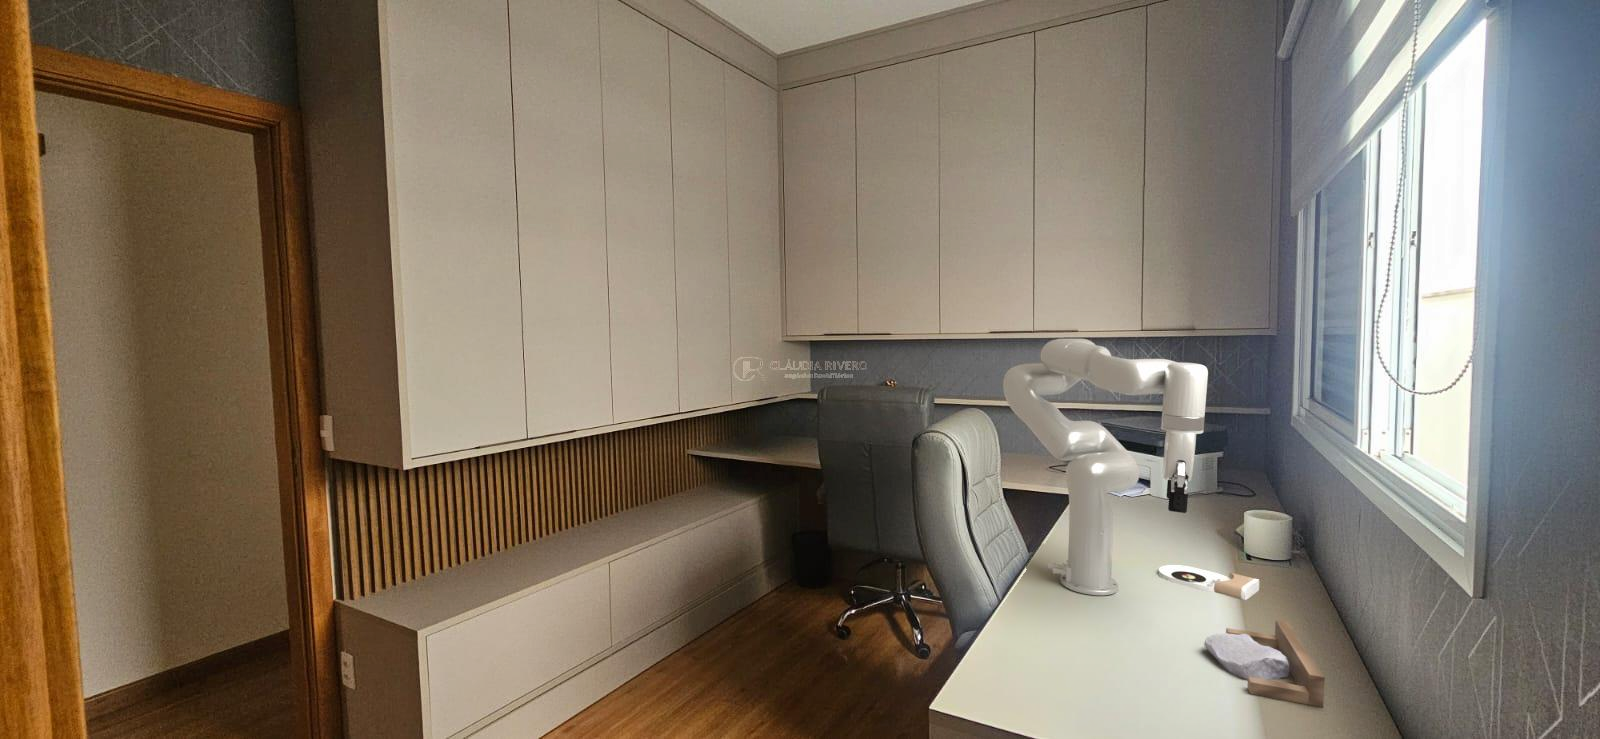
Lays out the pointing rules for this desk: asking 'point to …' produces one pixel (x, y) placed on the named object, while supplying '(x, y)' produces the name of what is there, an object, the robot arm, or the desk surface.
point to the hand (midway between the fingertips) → (1176, 505)
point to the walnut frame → (1300, 669)
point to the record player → (1211, 581)
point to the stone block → (1247, 657)
